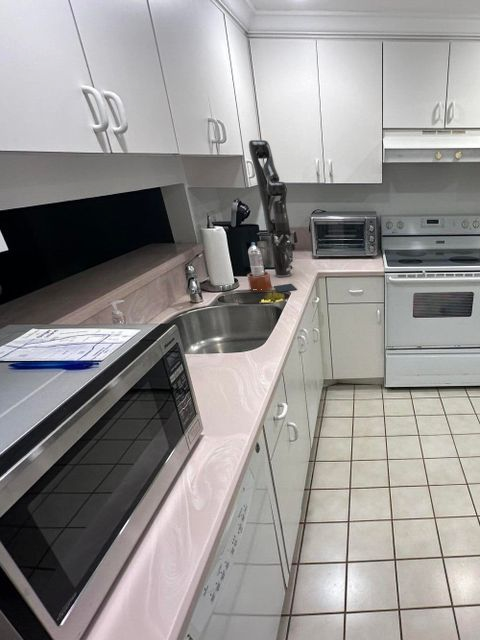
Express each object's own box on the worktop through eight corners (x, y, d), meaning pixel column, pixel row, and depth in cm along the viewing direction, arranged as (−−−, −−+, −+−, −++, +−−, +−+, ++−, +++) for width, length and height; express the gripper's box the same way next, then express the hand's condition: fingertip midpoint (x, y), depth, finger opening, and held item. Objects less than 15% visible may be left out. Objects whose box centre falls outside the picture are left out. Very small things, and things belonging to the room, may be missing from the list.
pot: (248, 287, 216) (246, 273, 212) (268, 284, 220) (266, 270, 217) (252, 292, 207) (250, 278, 203) (273, 289, 212) (271, 275, 208)
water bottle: (258, 291, 210) (251, 244, 197) (251, 288, 213) (243, 242, 201) (269, 288, 214) (262, 242, 202) (262, 285, 218) (255, 240, 206)
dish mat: (273, 287, 216) (273, 286, 215) (291, 284, 220) (291, 283, 219) (278, 292, 207) (278, 291, 207) (296, 289, 211) (296, 288, 211)
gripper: (292, 220, 216) (296, 249, 223) (267, 222, 210) (271, 252, 217) (296, 221, 210) (300, 251, 217) (270, 223, 204) (275, 254, 211)
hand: (285, 251), depth 217 cm, fingers open, 8 cm apart
